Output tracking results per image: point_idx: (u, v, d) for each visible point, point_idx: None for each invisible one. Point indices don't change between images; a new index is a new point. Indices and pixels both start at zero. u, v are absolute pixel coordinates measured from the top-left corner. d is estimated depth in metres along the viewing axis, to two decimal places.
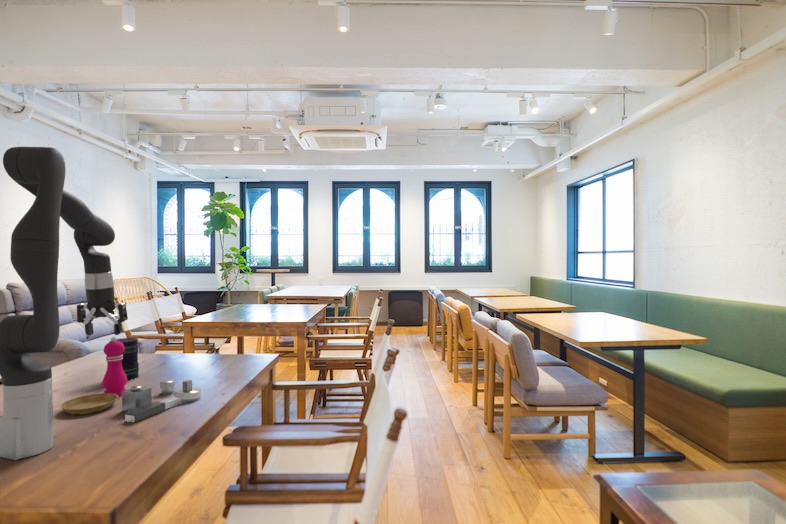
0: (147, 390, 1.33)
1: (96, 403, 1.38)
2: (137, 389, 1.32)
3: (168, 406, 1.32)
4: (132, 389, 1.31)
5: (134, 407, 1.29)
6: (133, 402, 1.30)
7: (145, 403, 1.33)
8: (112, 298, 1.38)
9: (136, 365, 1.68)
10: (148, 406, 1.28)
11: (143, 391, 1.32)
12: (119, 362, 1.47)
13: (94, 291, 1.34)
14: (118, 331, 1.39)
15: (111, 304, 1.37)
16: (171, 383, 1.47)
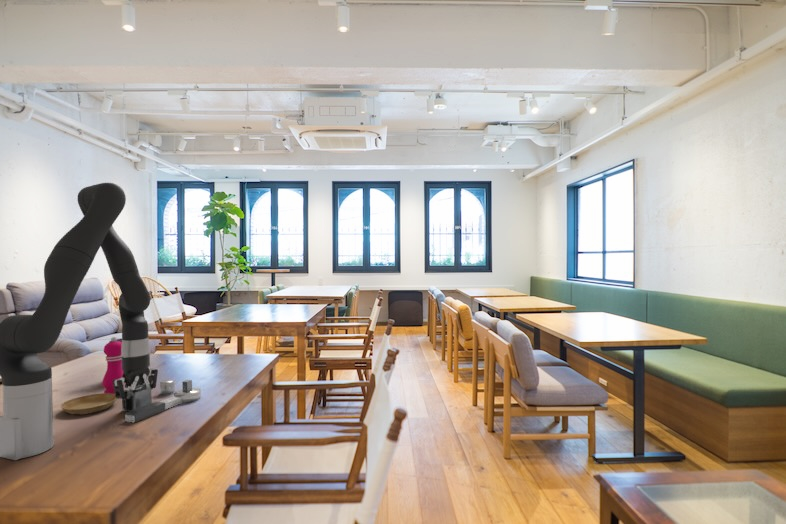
0: (147, 390, 1.33)
1: (96, 403, 1.38)
2: (137, 389, 1.32)
3: (168, 406, 1.32)
4: None
5: (134, 407, 1.29)
6: (133, 402, 1.30)
7: (145, 403, 1.33)
8: (124, 369, 1.29)
9: None
10: (148, 406, 1.28)
11: (143, 391, 1.32)
12: (119, 362, 1.47)
13: None
14: None
15: None
16: (171, 383, 1.47)
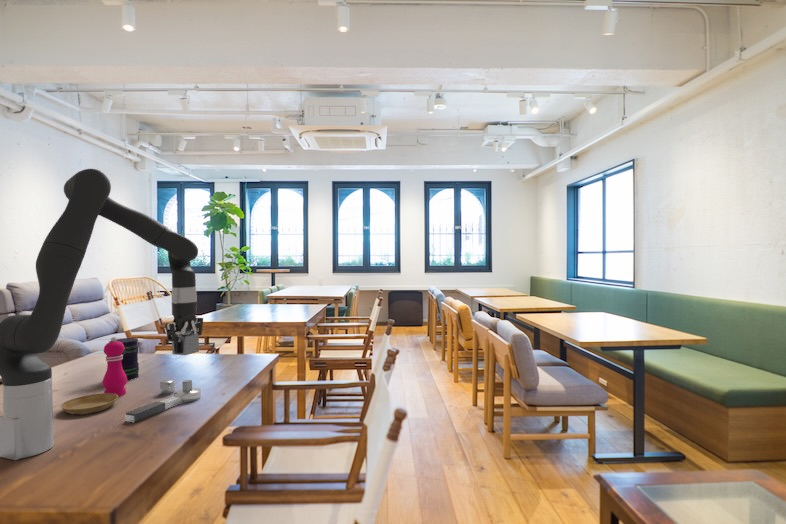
0: (195, 335, 1.42)
1: (96, 403, 1.38)
2: (186, 334, 1.40)
3: (168, 406, 1.32)
4: None
5: (185, 350, 1.38)
6: (183, 345, 1.38)
7: (193, 347, 1.41)
8: (175, 314, 1.38)
9: (136, 365, 1.68)
10: (148, 406, 1.28)
11: (192, 336, 1.41)
12: (119, 362, 1.47)
13: None
14: None
15: None
16: (171, 383, 1.47)
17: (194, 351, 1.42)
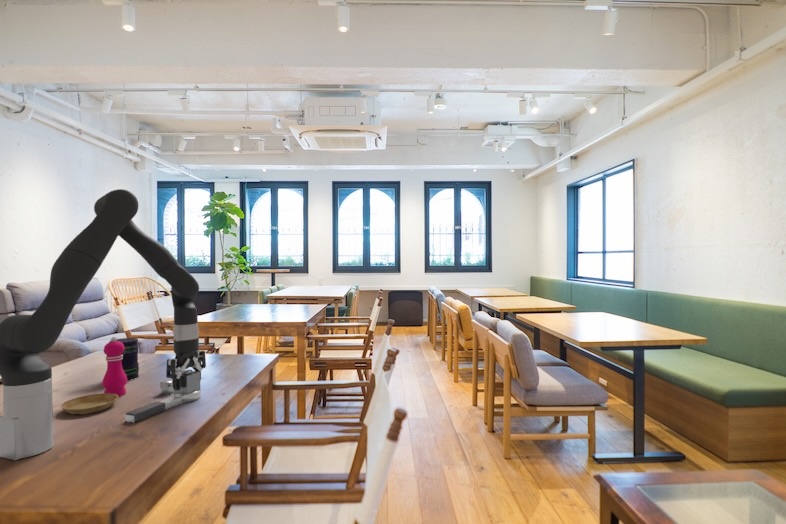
0: (196, 374, 1.42)
1: (96, 403, 1.38)
2: (188, 373, 1.40)
3: (168, 406, 1.32)
4: (183, 373, 1.40)
5: (186, 389, 1.38)
6: (185, 385, 1.38)
7: (195, 386, 1.41)
8: (176, 352, 1.38)
9: (136, 365, 1.68)
10: (148, 406, 1.28)
11: (193, 375, 1.41)
12: (119, 362, 1.47)
13: None
14: None
15: None
16: (171, 383, 1.47)
17: (195, 390, 1.41)
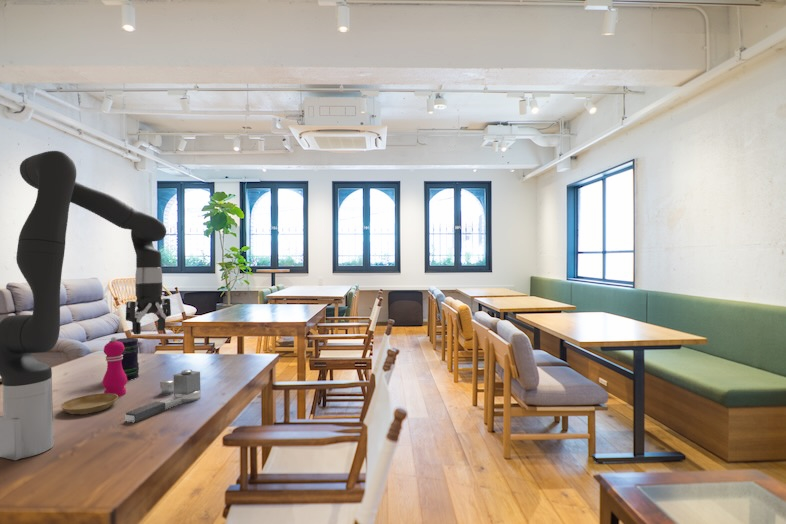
0: (196, 374, 1.42)
1: (96, 403, 1.38)
2: (188, 373, 1.40)
3: (168, 406, 1.32)
4: (183, 373, 1.40)
5: (186, 389, 1.38)
6: (185, 385, 1.38)
7: (195, 386, 1.41)
8: (137, 295, 1.34)
9: (136, 365, 1.68)
10: (148, 406, 1.28)
11: (193, 375, 1.41)
12: (119, 362, 1.47)
13: None
14: None
15: None
16: (171, 383, 1.47)
17: (195, 390, 1.41)
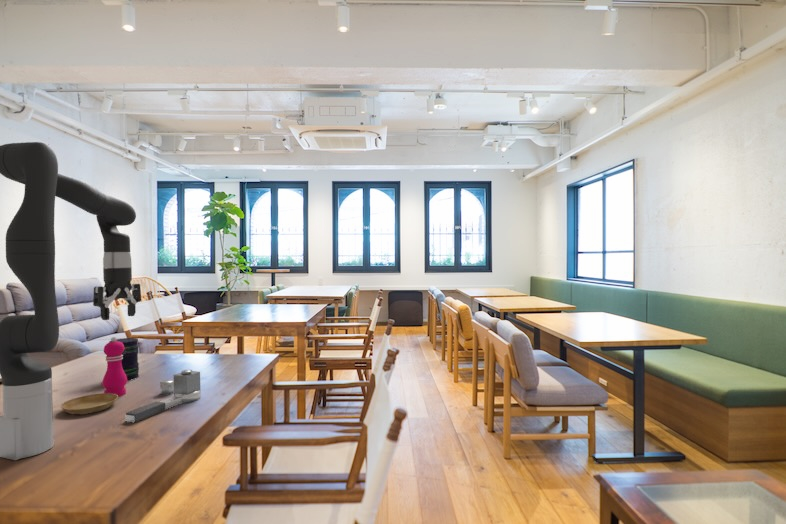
0: (196, 374, 1.42)
1: (96, 403, 1.38)
2: (188, 373, 1.40)
3: (168, 406, 1.32)
4: (183, 373, 1.40)
5: (186, 389, 1.38)
6: (185, 385, 1.38)
7: (195, 386, 1.41)
8: (105, 280, 1.31)
9: (136, 365, 1.68)
10: (148, 406, 1.28)
11: (193, 375, 1.41)
12: (119, 362, 1.47)
13: None
14: None
15: None
16: (171, 383, 1.47)
17: (195, 390, 1.41)
